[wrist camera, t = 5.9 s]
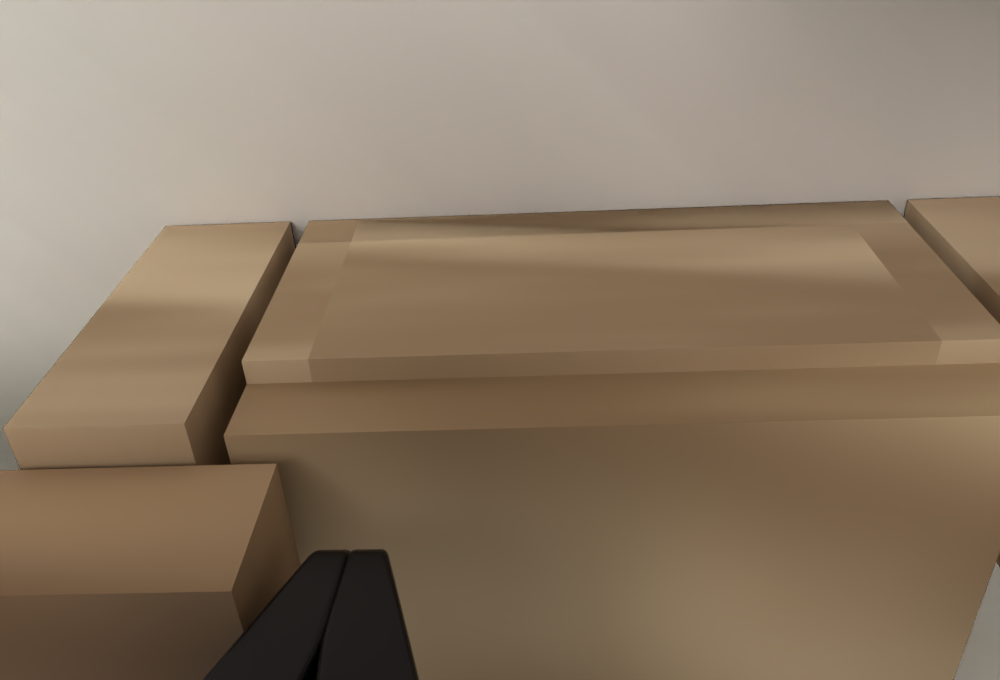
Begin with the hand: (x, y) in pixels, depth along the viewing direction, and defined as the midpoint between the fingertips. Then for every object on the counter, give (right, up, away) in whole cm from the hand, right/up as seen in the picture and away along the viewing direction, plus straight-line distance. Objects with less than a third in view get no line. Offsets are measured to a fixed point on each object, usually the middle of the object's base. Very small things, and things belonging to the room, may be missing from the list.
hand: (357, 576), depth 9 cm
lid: (+3, -5, +5) cm, 8 cm away
